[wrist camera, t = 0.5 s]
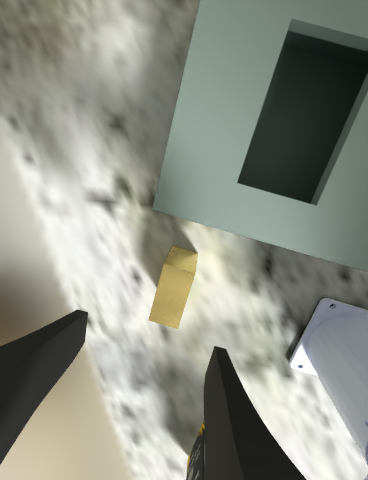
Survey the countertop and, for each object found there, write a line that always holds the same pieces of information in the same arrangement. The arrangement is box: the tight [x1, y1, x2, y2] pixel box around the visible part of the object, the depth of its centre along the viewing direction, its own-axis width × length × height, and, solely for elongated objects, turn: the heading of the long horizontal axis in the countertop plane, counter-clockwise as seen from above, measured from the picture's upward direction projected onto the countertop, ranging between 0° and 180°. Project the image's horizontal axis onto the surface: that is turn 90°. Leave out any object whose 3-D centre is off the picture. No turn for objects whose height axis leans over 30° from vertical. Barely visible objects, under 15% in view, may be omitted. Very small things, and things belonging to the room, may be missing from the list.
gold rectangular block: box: [149, 246, 198, 329], centre depth 19 cm, size 2×5×4 cm, turn 165°
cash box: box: [152, 0, 368, 272], centre depth 14 cm, size 13×13×6 cm
